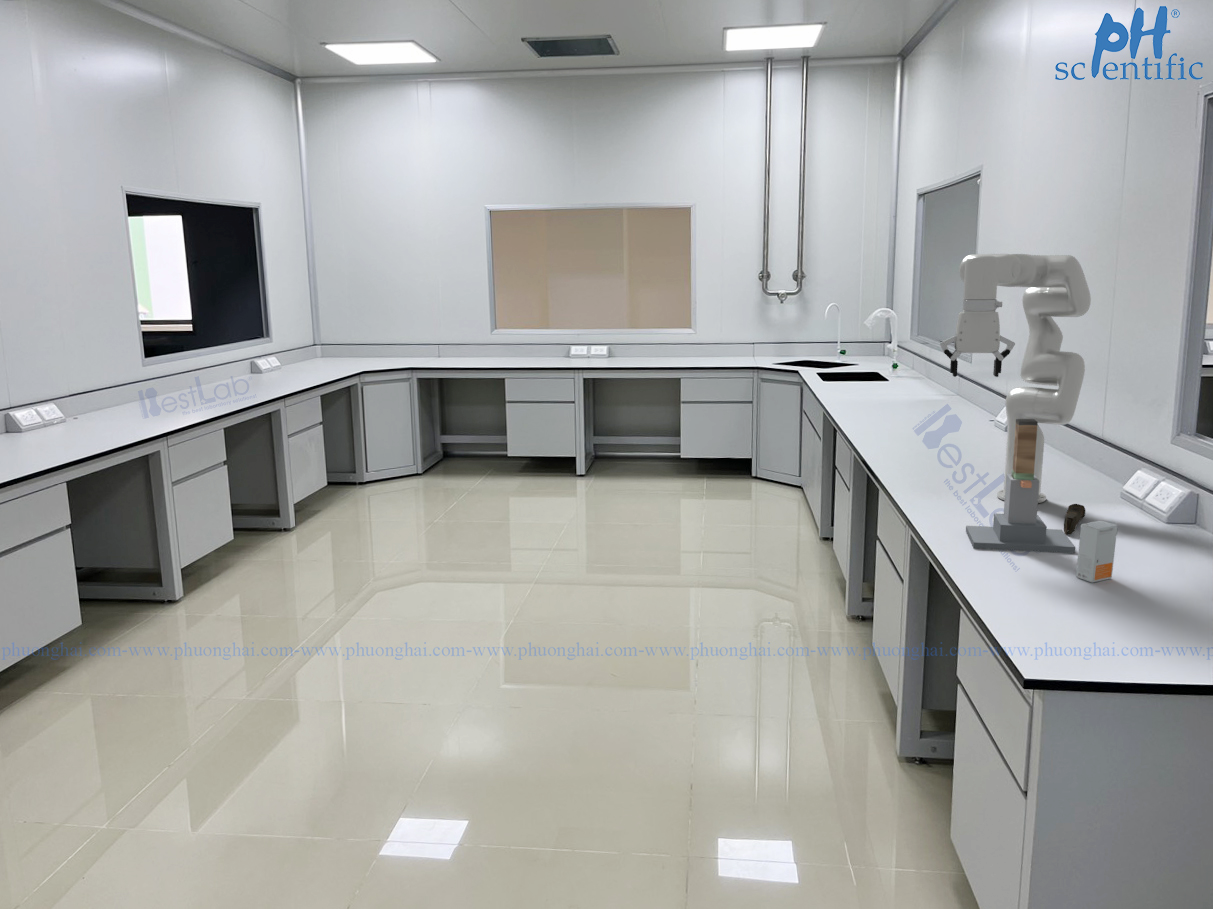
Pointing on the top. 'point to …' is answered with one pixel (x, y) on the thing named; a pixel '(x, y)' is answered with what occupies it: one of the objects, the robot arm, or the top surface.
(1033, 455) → the post
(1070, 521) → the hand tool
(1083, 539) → the skincare box
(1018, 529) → the stand base
